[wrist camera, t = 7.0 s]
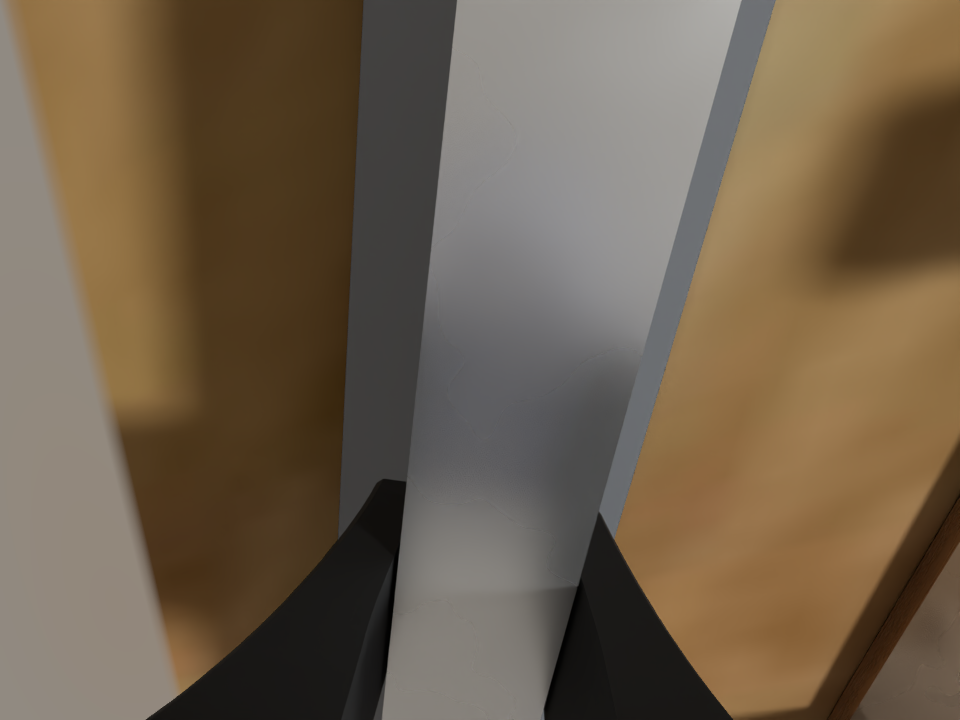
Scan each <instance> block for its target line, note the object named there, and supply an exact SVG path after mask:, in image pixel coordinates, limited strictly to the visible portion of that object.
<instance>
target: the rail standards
mask: <svg viewBox="0 0 960 720" xmlns="http://www.w3.org/2000/svg"><path fill="white" fill-rule="evenodd" d="M828 720H960V497H959V498H958V500H957V502H956V503H955V505H954V507H953V508H952V510H951V512H950V514H949V515H948V517H947V519H946V520H945V522H944V524H943V525H942V527H941V529H940V530H939V532H938V534H937V536H936V537H935V539H934V541H933V542H932V544H931V546H930V547H929V549H928V551H927V552H926V554H925V556H924V557H923V559H922V561H921V563H920V564H919V566H918V568H917V569H916V571H915V573H914V574H913V576H912V578H911V579H910V581H909V583H908V585H907V586H906V588H905V590H904V591H903V593H902V595H901V596H900V598H899V600H898V601H897V603H896V605H895V606H894V608H893V610H892V612H891V613H890V615H889V617H888V618H887V620H886V622H885V623H884V625H883V627H882V628H881V630H880V632H879V634H878V635H877V637H876V639H875V640H874V642H873V644H872V645H871V647H870V649H869V650H868V652H867V654H866V655H865V657H864V659H863V661H862V662H861V664H860V666H859V667H858V669H857V671H856V672H855V674H854V676H853V677H852V679H851V681H850V683H849V684H848V686H847V688H846V689H845V691H844V693H843V694H842V696H841V698H840V699H839V701H838V703H837V704H836V706H835V708H834V710H833V711H832V713H831V715H830V716H829V718H828Z"/></svg>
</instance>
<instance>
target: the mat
mask: <svg viewBox="0 0 960 720" xmlns="http://www.w3.org/2000/svg"><path fill="white" fill-rule="evenodd" d="M774 4H775V0H742V1H741V4H740V8H739V11H738V15H737V18H736V22H735V26H734V29H733V33H732V36H731V40H730V43H729V47H728V51H727V54H726V58H725V61H724V65H723V69H722V72H721V76H720V79H719V83H718V86H717V90H716V94H715V97H714V101H713V104H712V108H711V111H710V115H709V119H708V122H707V126H706V129H705V133H704V137H703V140H702V144H701V147H700V151H699V154H698V158H697V162H696V165H695V169H694V172H693V176H692V179H691V183H690V187H689V190H688V194H687V197H686V201H685V204H684V208H683V212H682V215H681V219H680V222H679V226H678V230H677V233H676V237H675V240H674V244H673V247H672V251H671V255H670V258H669V262H668V265H667V269H666V272H665V276H664V280H663V283H662V287H661V290H660V294H659V298H658V301H657V305H656V308H655V312H654V315H653V319H652V323H651V326H650V330H649V333H648V337H647V340H646V344H645V348H644V351H643V355H642V358H641V362H640V365H639V369H638V373H637V376H636V380H635V383H634V387H633V391H632V394H631V398H630V401H629V405H628V408H627V412H626V416H625V419H624V423H623V426H622V430H621V433H620V437H619V441H618V444H617V448H616V451H615V455H614V458H613V462H612V466H611V469H610V473H609V476H608V480H607V484H606V487H605V491H604V494H603V498H602V501H601V505H600V509H599V512H600V513H601V515H602V517H603V519H604V521H605V523H606V525H607V527H608V529H609V531H610V533H611V535H612V537H613V539H614V538H615V535H616V531H617V528H618V525H619V521H620V518H621V515H622V511H623V508H624V504H625V501H626V498H627V494H628V491H629V488H630V484H631V481H632V478H633V474H634V471H635V468H636V464H637V461H638V458H639V454H640V451H641V448H642V444H643V441H644V438H645V434H646V431H647V428H648V424H649V421H650V418H651V414H652V411H653V408H654V404H655V401H656V398H657V394H658V391H659V388H660V384H661V381H662V378H663V374H664V371H665V368H666V364H667V361H668V358H669V354H670V351H671V348H672V344H673V341H674V338H675V334H676V331H677V328H678V324H679V321H680V318H681V314H682V311H683V308H684V304H685V301H686V298H687V294H688V291H689V288H690V284H691V281H692V277H693V274H694V271H695V267H696V264H697V261H698V257H699V254H700V251H701V247H702V244H703V241H704V237H705V234H706V231H707V227H708V224H709V221H710V217H711V214H712V211H713V207H714V204H715V201H716V197H717V194H718V191H719V187H720V184H721V181H722V177H723V174H724V171H725V167H726V164H727V161H728V157H729V154H730V151H731V147H732V144H733V141H734V137H735V134H736V131H737V127H738V124H739V121H740V117H741V114H742V111H743V107H744V104H745V101H746V97H747V94H748V91H749V87H750V84H751V81H752V77H753V74H754V71H755V67H756V64H757V61H758V57H759V54H760V51H761V47H762V44H763V40H764V37H765V34H766V30H767V27H768V24H769V20H770V17H771V14H772V10H773V7H774ZM456 7H457V0H364V2H363V23H362V44H361V65H360V86H359V107H358V128H357V149H356V170H355V191H354V212H353V233H352V254H351V275H350V297H349V318H348V339H347V360H346V381H345V402H344V423H343V444H342V465H341V486H340V507H339V528H338V539H339V538H340V536H341V535H342V534H343V533H344V531H345V530H346V529H347V527H348V526H349V525H350V523H351V522H352V520H353V519H354V518H355V516H356V515H357V513H358V512H359V511H360V509H361V508H362V506H363V505H364V503H365V502H366V500H367V498H368V497H369V495H370V494H371V492H372V490H373V488H374V486H375V484H376V483H377V482H379V481H380V480H382V479H391V480H398V481H405V482H407V475H408V465H409V456H410V446H411V437H412V427H413V417H414V408H415V398H416V389H417V379H418V370H419V360H420V351H421V341H422V332H423V322H424V312H425V303H426V293H427V284H428V274H429V265H430V255H431V246H432V236H433V226H434V217H435V207H436V198H437V188H438V179H439V169H440V160H441V150H442V141H443V131H444V121H445V112H446V102H447V93H448V83H449V74H450V64H451V55H452V45H453V36H454V26H455V16H456ZM386 675H387V673H386ZM385 685H386V677H385V681H384V684H383V688H382V691H381V695H380V698H379V702H378V705H377V709H376V712H375V716H374V719H373V720H382V713H383V704H384V694H385ZM541 720H544V709H543V713H542V716H541Z"/></svg>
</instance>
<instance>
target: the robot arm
mask: <svg viewBox="0 0 960 720" xmlns="http://www.w3.org/2000/svg"><path fill="white" fill-rule="evenodd" d="M406 484H407V482H405V481H398V480H391V479H382V480H380V481H379V482H377V483H376V484H375V486H374V488H373V490H372V492H371V494H370V495H369V497H368V498H367V500H366V502H365V503H364V505H363V506H362V508H361V509H360V511H359V512H358V513H357V515H356V516H355V518H354V519H353V520H352V522H351V523H350V525H349V526H348V527H347V529H346V530H345V531H344V533H343V534H342V535H341V536H340V538H339V539H338V540H337V541H336V543H335V544H334V545H333V546H332V548H331V549H330V550H329V551H328V553H327V554H326V555H325V556H324V558H323V559H322V560H321V561H320V563H319V564H318V565H317V566H316V567H315V568H314V569H313V571H312V572H311V573H310V574H309V575H308V576H307V577H306V578H305V579H304V580H303V582H302V583H301V584H300V585H299V586H298V587H297V588H296V589H295V590H294V591H293V593H292V594H291V595H290V596H289V597H288V598H287V599H286V600H285V601H284V602H283V603H282V604H281V605H280V606H279V607H278V608H277V609H276V610H275V611H274V612H273V613H272V614H271V615H270V616H269V617H268V618H267V619H266V620H265V621H264V622H263V623H262V624H261V625H260V626H259V627H258V628H257V629H256V630H255V631H254V632H253V633H252V634H251V635H249V636H248V637H247V638H246V639H245V640H244V641H243V642H242V643H241V644H240V645H239V646H237V647H236V648H235V649H234V650H233V651H232V652H231V653H229V654H228V655H227V656H226V657H225V658H224V659H222V660H221V661H220V662H219V663H218V664H217V665H215V666H214V667H213V668H212V669H211V670H209V671H208V672H207V673H206V674H205V675H204V676H202V677H201V678H200V679H199V680H198V681H196V682H195V683H194V684H193V685H191V686H190V687H189V688H188V689H186V690H185V691H184V692H182V693H181V694H180V695H179V696H177V697H176V698H175V699H173V700H172V701H171V702H169V703H168V704H167V705H165V706H164V707H162V708H161V709H160V710H158V711H157V712H156V713H154V714H153V715H151V716H150V717H149V718H147V719H146V720H373V719H374V716H375V712H376V709H377V705H378V702H379V698H380V695H381V691H382V688H383V684H384V681H385V677H386V673H387V666H388V656H389V647H390V637H391V627H392V618H393V608H394V599H395V589H396V580H397V570H398V561H399V551H400V542H401V532H402V522H403V513H404V503H405V494H406ZM544 720H733V719H732V718H731V716H730V715H729V714H728V713H727V711H726V710H725V709H724V708H723V706H722V705H721V704H720V702H719V701H718V700H717V699H716V697H715V696H714V695H713V694H712V692H711V691H710V690H709V689H708V687H707V686H706V685H705V683H704V682H703V681H702V679H701V678H700V677H699V675H698V674H697V672H696V671H695V670H694V668H693V667H692V666H691V664H690V663H689V661H688V660H687V659H686V657H685V656H684V654H683V653H682V651H681V650H680V648H679V647H678V645H677V644H676V643H675V641H674V640H673V638H672V637H671V635H670V634H669V632H668V631H667V629H666V628H665V626H664V624H663V623H662V621H661V620H660V618H659V617H658V615H657V614H656V612H655V610H654V609H653V607H652V605H651V604H650V602H649V600H648V599H647V597H646V595H645V594H644V592H643V591H642V589H641V587H640V586H639V584H638V582H637V580H636V579H635V577H634V575H633V574H632V572H631V570H630V568H629V566H628V565H627V563H626V561H625V559H624V557H623V555H622V554H621V552H620V550H619V548H618V546H617V544H616V542H615V540H614V539H613V537H612V535H611V533H610V531H609V529H608V527H607V525H606V523H605V521H604V519H603V517H602V515H601V513H600V512H598V516H597V519H596V523H595V526H594V530H593V534H592V537H591V541H590V544H589V548H588V552H587V555H586V559H585V562H584V566H583V569H582V573H581V577H580V580H579V584H578V587H577V591H576V594H575V598H574V602H573V605H572V609H571V612H570V616H569V619H568V623H567V627H566V630H565V634H564V637H563V641H562V645H561V648H560V652H559V655H558V659H557V662H556V666H555V670H554V673H553V677H552V680H551V684H550V687H549V691H548V695H547V698H546V702H545V705H544Z"/></svg>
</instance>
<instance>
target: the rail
mask: <svg viewBox="0 0 960 720" xmlns="http://www.w3.org/2000/svg"><path fill="white" fill-rule="evenodd" d="M741 1H742V0H457V7H456V16H455V26H454V36H453V45H452V55H451V64H450V74H449V83H448V93H447V102H446V112H445V121H444V131H443V141H442V150H441V160H440V169H439V179H438V188H437V198H436V207H435V217H434V226H433V236H432V246H431V255H430V265H429V274H428V284H427V293H426V303H425V312H424V322H423V332H422V341H421V351H420V360H419V370H418V379H417V389H416V398H415V408H414V417H413V427H412V437H411V446H410V456H409V465H408V475H407V484H406V494H405V503H404V513H403V522H402V532H401V542H400V551H399V561H398V570H397V580H396V589H395V599H394V608H393V618H392V627H391V637H390V647H389V656H388V666H387V675H386V685H385V694H384V704H383V713H382V720H541V716H542V713H543V709H544V705H545V702H546V698H547V695H548V691H549V687H550V684H551V680H552V677H553V673H554V670H555V666H556V662H557V659H558V655H559V652H560V648H561V645H562V641H563V637H564V634H565V630H566V627H567V623H568V619H569V616H570V612H571V609H572V605H573V602H574V598H575V594H576V591H577V587H578V584H579V580H580V577H581V573H582V569H583V566H584V562H585V559H586V555H587V552H588V548H589V544H590V541H591V537H592V534H593V530H594V526H595V523H596V519H597V516H598V512H599V509H600V505H601V501H602V498H603V494H604V491H605V487H606V484H607V480H608V476H609V473H610V469H611V466H612V462H613V458H614V455H615V451H616V448H617V444H618V441H619V437H620V433H621V430H622V426H623V423H624V419H625V416H626V412H627V408H628V405H629V401H630V398H631V394H632V391H633V387H634V383H635V380H636V376H637V373H638V369H639V365H640V362H641V358H642V355H643V351H644V348H645V344H646V340H647V337H648V333H649V330H650V326H651V323H652V319H653V315H654V312H655V308H656V305H657V301H658V298H659V294H660V290H661V287H662V283H663V280H664V276H665V272H666V269H667V265H668V262H669V258H670V255H671V251H672V247H673V244H674V240H675V237H676V233H677V230H678V226H679V222H680V219H681V215H682V212H683V208H684V204H685V201H686V197H687V194H688V190H689V187H690V183H691V179H692V176H693V172H694V169H695V165H696V162H697V158H698V154H699V151H700V147H701V144H702V140H703V137H704V133H705V129H706V126H707V122H708V119H709V115H710V111H711V108H712V104H713V101H714V97H715V94H716V90H717V86H718V83H719V79H720V76H721V72H722V69H723V65H724V61H725V58H726V54H727V51H728V47H729V43H730V40H731V36H732V33H733V29H734V26H735V22H736V18H737V15H738V11H739V8H740V4H741Z"/></svg>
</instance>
